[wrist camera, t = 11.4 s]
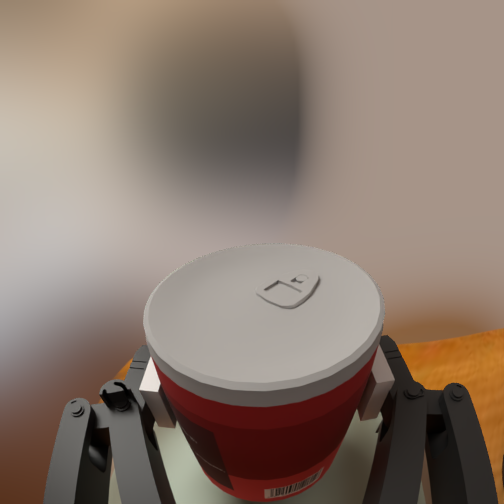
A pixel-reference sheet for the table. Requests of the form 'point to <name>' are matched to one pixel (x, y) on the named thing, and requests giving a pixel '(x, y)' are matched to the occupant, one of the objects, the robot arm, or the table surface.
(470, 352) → the table surface
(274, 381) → the canned food
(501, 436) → the table surface
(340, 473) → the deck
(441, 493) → the robot arm
